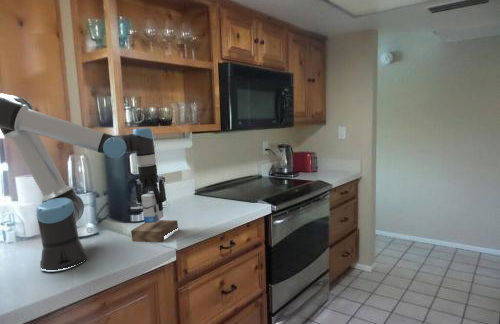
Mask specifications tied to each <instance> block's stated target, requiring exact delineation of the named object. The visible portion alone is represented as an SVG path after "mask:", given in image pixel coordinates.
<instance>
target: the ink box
mask: <svg viewBox="0 0 500 324" xmlns="http://www.w3.org/2000/svg"><path fill="white" fill-rule="evenodd" d="M159 193H160V190H159ZM141 198H142V204H141V206H143V208H142V212H143V221H144V223H155V222H156V221H158V220H162V218H163V217H164V209H163V210H162V218H160V219H158V217H157V209H156V204H157V201H156V198H155V194H154V193H153V190H152V191H148V193H146V194H144V195H142V196H141Z"/></svg>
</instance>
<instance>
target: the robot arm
mask: <svg viewBox="0 0 500 324" xmlns="http://www.w3.org/2000/svg"><path fill="white" fill-rule="evenodd" d="M0 130H1V133H2V135H3V136H4V137H5V138H7V139H8V138H9V139H10V140H12V141H11V142H13V144H14V146H15V147H16V150H17V152H18V153H19V154H20V157H21V158H22V161H23V162H24V163H25V165H26V167H27V169H28V171H29V172H30V175H31V176H32V178H33V180H34V181H35V183H36V185H37V186H38V188H39V191H40V192H41V194H42V198H41V203H40V204H39V205H38V206H37V208H36V219H37V223H38V224H37V225H38V229H39V233H40V238H41V244H42V251H41V258H40V259H41V260H40V262H39V266H40V267H39V268H40V269H41V268H42V269H46V270H58V269H63V268H68V267H71V266H74V265H77V264H79V263H81V262H83V261H84V260H86V261H87V259H88V254H87V251H86V249H84V247H83V244H82V242H81V240H80V238H79V231H78V226H77V225H78V224H77V222H79V220H80V219H81V218H82V216H83V214H84V212H85V211H84V210H85V204H84V202H83V199H82V197H80V195H77V194H76V193H75V191H74V189H73V187H72V186H69V185H66V182H65V181H64V179H63V177H62V175H61V174H60V172H59V170H58V168H57V166H56V165H55V163H54V161H53V159H52V157H51V155H50V153H49V151H48V150H47V148H46V146H45V144H44V142H43V140H42V139H41V136H42V137H45V138H48V139H52V140H56V141H59V142H63V143H66V144H69V145H72V146H76V147H79V148H82V149H86V150H89V151H93V152H95V153H99V154H102V155H106V157H109V158H110V159H118V158H121V157H123V156H124V155H125V154H128V153H135V155H136V164H137V166H138V168H137V171H138V176H139V178H138V179H135V180H133V184H134V186H135V195H136V202H137V203H138V204H141V206H142V198H141V196H142V195H144V194H146V193H148V192H149V188H150V189H151V190H152V191H153V193H154V194H155V198H156V201H157V204H156V209H157V217H158V219H159V220H161V219H162V218H163V217H162V210H163V211H164V207H163V203H164V202H166V201H167V194H166V188H165V180H166V179H165V178H160V177H159V175H158V165H157V164H156V163H157V161H156V152H155V144H154V135H153V131H152V128H150V127H141V128H140V127H139V128H134V129H133V130H132V133H130V134H120V135H119V134H118V135H112V134H109V133H107V132H106V133H105V132H103V131H101V130H100V131H99V130H96V129H93V128H90V127H87V126H84V125H82V124H81V125H80V124H77V123H74V122H71V121H68V120H65V119H61V118H58V117H56V116H52V115H49V114H45V113H43V112H41V111H36V110H34V108H33V105H31V103H30V102H29V101H28V100H26V99H25V98H24V97H21V96H19V95H15V94H14V95H13V94H6V93H0ZM157 183H158V184H157ZM159 191H160V193H159ZM142 209H143V206H142ZM160 218H161V219H160ZM83 263H84V262H83Z"/></svg>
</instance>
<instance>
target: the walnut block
mask: <svg viewBox="0 0 500 324" xmlns="http://www.w3.org/2000/svg"><path fill="white" fill-rule="evenodd" d="M177 228H178V229H179V224H178V220H174V219H173V220H172V219H171V220H170V219H169V220H168V219H159V220H158V221H156V222H155V223H145V222H144V223H142V224H140V225H139V226H136V227H134V228H133V229H131V231H130V234H131V242H139V243H161V244H162V243H163V242H164V241H165V240H164V236H165V235H167V234H168V233H170V232H172V231H173V230H175V229H177Z"/></svg>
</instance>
